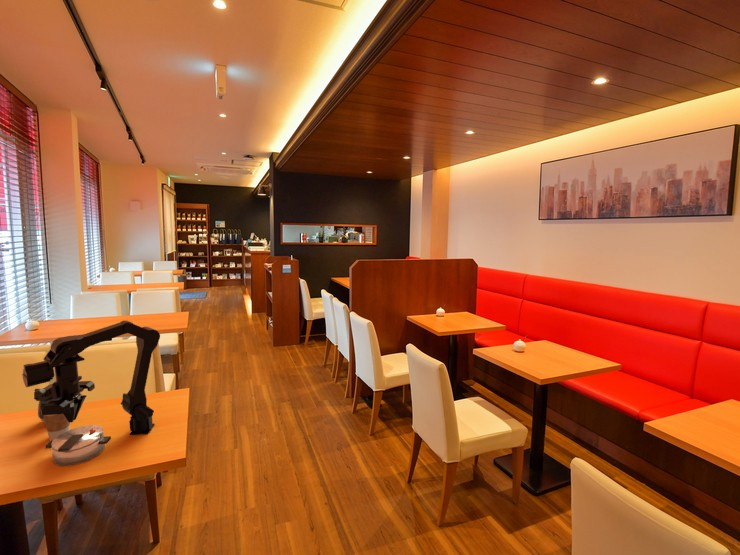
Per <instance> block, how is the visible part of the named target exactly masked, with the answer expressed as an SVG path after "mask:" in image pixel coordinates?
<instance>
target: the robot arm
mask: <svg viewBox="0 0 740 555" xmlns="http://www.w3.org/2000/svg"><path fill="white" fill-rule="evenodd" d="M126 334H129V335H132V336H134V337H135V344H136V349H137V353H136V359H135V365H134V369H133V375H132V379H131V384H130V389H129V390H128V392H127V393H123V394H122V400H121V402H120V405H121V406H122V409H123V410H124V411H125V412H126V413H127V414H129V415H130V419H129V421H128V422H129V431H130V432H129V436H135V435H147V434H150V432H151V431H152V429H153V428H154V427H155V423H153V414H154V412H155V410H154V409H152V408H151V407H150V406H149V405H148V404H147V394H146V391H145V390H146V385H147V381H148V376H149V371H150V370H149V369H150V365H151V359H152V355H153V352H154V351H155V349H156V348H157V347H158V344H159V341H160V339H161V334H160V332H159V331H158V330H157V329H154V328H152V327H150V326H143V327H141V326H140V325H137V324H134V323H133V322H132V321H130V320H126V319H125V320H122V321H120V322H117V323H113V324H111V325H108V326H104V327H102V328H99V329H96V330H93V331H89V332H87V333H83V334H77V335H76V334H74V335H67V336H62V337H58V338H55V339H54V340H53V341H52V343H51V344H50V349H49V351H48V352H47V353H46V354H45V356H44V357H43V361H39V362H35V363H26V364H23V370H22V374H21V375H22V380H23V384H24V386H25V388H30V387H34V386H38V385H41V384H47V383H49V382H51V381H52V380H53V379H54V378H55V381H54V382H52V383H51V384H52V385H50V384H49V385H50V386H48V385H46V386H47V387H46V386H45V387H44V388H39V389H40V390H37V391H34V392H33V399H34V400H35V401H36V402H39V401H40V402H42V401H44V400H46V399H48V398H51V397H53V399H57V398H60V400H56V401H50V402H48V403H47V404H46V405H44V406H43V407H42V408H41V415H56V414H64V416H65V417H66V419H67V420H68V422H69V423H70V424H72V423H74V421H75V420H77V418H78V415H79V413H80V411H81V409H82V406H83V404H84V402H85V400H86V398H87V395H83V394H82V393H83V391H84V390H85V389H86V390H87V391H88V392H92V391H93V390H94V389H96V387H95V382H94V381H92V380H84V381H83V380H82V378H83V377H82V375H79V369H78V363H79V362H84V361H85V359H86V358H85V357H83V356H82V355H80V354H81V353H82V352H84V351H85V350H86V349H88V348H89V347H92V346H94V345H97V344H101V343H104V342H106V341H108V340H109V341H110V340H112V339H114V338H117V337H120V336H123V335H126ZM81 380H82V381H81Z"/></svg>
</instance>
